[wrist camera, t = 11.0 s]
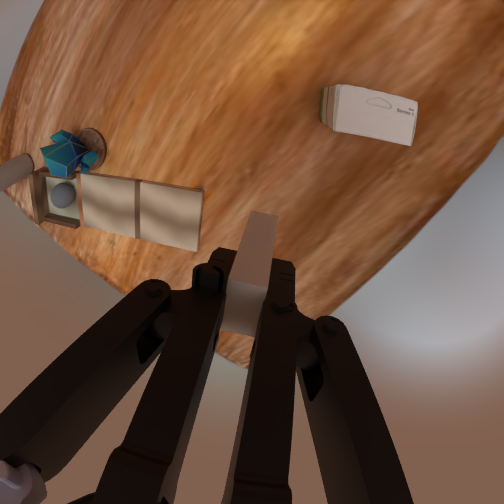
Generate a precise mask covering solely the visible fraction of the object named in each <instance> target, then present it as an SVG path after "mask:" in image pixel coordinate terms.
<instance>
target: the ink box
mask: <svg viewBox="0 0 504 504" xmlns="http://www.w3.org/2000/svg"><path fill="white" fill-rule="evenodd" d="M417 109H418V103H417V102H416V101H413V100H411V99H407V98H403V97H400V96H396V95H392V94H388V93H385V92H381V91H375V90H370V89H367V88H363V87H358V86H352V85H348V84H336V85H333V86H329V87H325V88H323V89H322V95H321V107H320V121H321V122H322V123H324V124H325V125H327V126H328V127H330V128H331V129H332V130H334V131H337V132H343V133H349V134H355V135H360V136H365V137H370V138H375V139H380V140H385V141H389V142H394V143H398V144H403V145H408V146H411V145H412V142H413V137H414V132H415V127H416V118H417Z"/></svg>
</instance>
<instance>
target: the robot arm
mask: <svg viewBox="0 0 504 504" xmlns="http://www.w3.org/2000/svg"><path fill="white" fill-rule="evenodd" d="M277 219H278V216H274V215H269V214H265V213H260V212H255V211H251V214H250V216H249V219H248V222H247V225H246V228H245V231H244V234H243V237H242V240H241V242H240V245H239V248H238V251H235V250H230V249H225V248H221V247H219V248H218V249H216V250H215V251H213V252H212V254H211V256H210V259H209V261H208V263H202V264H199V265H197V266H195V267H194V269H193V275H192V287H191V288H190V289H186V290H171V288H170V286H169V285H168V284H167V283H166V282H164V281H162V280H158V279H150V280H146V281H144V282H142V283H141V284H139V285H138V286H137V287H136V288H135V289H133V290H132V291H131V292H130V293H129V294H128V295H126V296H125V297H124V298H123V299H122V300H121V301H120V302H118V303H117V304H116V305H115V306H114V307H113V308H111V309H110V310H109V311H108V312H107V313H106V314H105V315H104V316H102V317H101V318H100V319H99V320H98V321H97V322H96V323H95V324H93V325H92V326H91V327H90V328H89V329H88V330H87V331H86V332H85V333H83V334H82V335H81V336H80V337H79V338H78V339H77V340H76V341H75V342H74V343H72V344H71V345H70V346H69V347H68V348H67V349H66V350H65V351H64V352H63V353H62V354H61V355H60V356H58V357H57V358H56V359H55V360H54V361H53V362H52V363H51V364H50V365H49V366H48V367H47V368H46V369H45V370H44V371H43V372H42V373H41V374H40V375H39V376H38V377H36V378H35V380H33V381H32V382H31V383H30V384H29V385H28V386H27V387H26V388H25V389H24V390H23V391H22V392H21V394H19V395H18V396H17V397H16V398H15V399H14V400H13V401H12V402H11V403H10V405H8V406H7V408H6V409H5V410H4V411H3V412H2V413H1V414H0V504H40V503H41V502H42V501H43V500H44V499H45V498H46V497H47V491H46V486H45V482H47V481H48V480H50V479H51V478H53V477H54V476H55V475H57V474H58V473H59V472H60V471H61V470H62V469H63V468H64V467H65V466H66V465H67V464H68V462H69V461H70V460H71V459H72V458H73V457H74V455H75V454H76V453H77V452H78V450H79V449H80V448H81V447H82V446H83V445H84V443H85V442H86V441H87V440H88V439H89V437H90V436H91V435H92V434H93V433H94V431H95V430H96V429H97V428H98V426H99V425H100V424H101V423H102V422H103V421H104V419H105V418H106V417H107V416H108V414H109V413H110V412H111V411H112V410H113V409H114V407H115V406H116V405H117V404H118V403H119V401H120V400H121V399H122V398H123V397H124V395H125V394H126V393H127V392H128V391H129V390H130V388H131V387H132V386H133V385H134V384H135V382H136V381H137V380H138V379H139V377H140V376H141V375H142V374H143V373H144V372H145V370H146V369H147V368H148V367H149V366H150V364H151V363H152V362H153V361H154V360H155V359H156V357H157V356H158V355H159V354H160V353H161V354H160V356H159V358H158V360H157V363H156V365H155V367H154V369H153V372H152V374H151V377H150V379H149V381H148V383H147V385H146V388H145V390H144V392H143V395H142V397H141V400H140V402H139V404H138V407H137V409H136V411H135V414H134V416H133V419H132V421H131V423H130V426H129V428H128V431H127V433H126V436H125V438H124V440H123V442H122V444H121V445H120V446H119V447H117V448H115V449H114V450H113V452H112V453H111V455H110V457H109V459H108V461H107V464H106V466H105V469H104V471H103V474H102V477H101V479H100V482H99V484H98V487H97V490H96V492H94V493H91V494H88V495H86V496H83V497H81V498H79V499H77V500H75V501H72V502H70V503H68V504H173V502H174V498H175V494H176V489H177V482H178V478H179V475H180V471H181V467H182V464H183V460H184V457H185V453H186V450H187V446H188V443H189V439H190V436H191V432H192V429H193V425H194V421H195V418H196V414H197V411H198V408H199V404H200V400H201V397H202V394H203V390H204V387H205V383H206V380H207V376H208V373H209V369H210V366H211V362H212V359H213V355H214V352H215V349H216V345H217V342H218V338H219V331H220V328H221V330H225V331H230V332H234V333H239V334H243V335H248V336H253V337H255V339H254V343H253V346H252V350H251V354H250V357H251V358H250V363H249V368H248V375H247V379H246V385H245V390H244V395H243V400H242V406H241V411H240V416H239V422H238V426H237V432H236V437H235V442H234V447H233V452H232V457H231V462H230V467H229V472H228V477H227V481H226V486H225V491H224V495H223V499H222V502H221V504H292V492H291V489H290V487H289V485H288V474H289V464H290V452H291V440H292V426H293V411H294V394H295V375H296V372H297V376H298V380H299V384H300V388H301V392H302V396H303V400H304V405H305V409H306V412H307V417H308V421H309V425H310V429H311V433H312V437H313V442H314V446H315V450H316V455H317V459H318V463H319V467H320V472H321V476H322V480H323V485H324V489H325V493H326V497H327V502H328V504H414V503H413V500H412V497H411V494H410V490H409V488H408V484H407V482H406V478H405V475H404V472H403V470H402V467H401V464H400V461H399V458H398V455H397V452H396V449H395V447H394V444H393V441H392V438H391V436H390V433H389V430H388V428H387V425H386V422H385V420H384V417H383V414H382V412H381V409H380V407H379V404H378V402H377V399H376V397H375V394H374V392H373V389H372V387H371V384H370V382H369V379H368V377H367V375H366V372H365V370H364V368H363V365H362V363H361V360H360V358H359V356H358V353H357V351H356V348H355V346H354V344H353V342H352V340H351V337H350V335H349V332H348V330H347V328H346V326H345V325H344V323H343V322H341V321H340V320H339V319H337V318H335V317H332V316H320V317H319V318H317V319H316V321H315V320H313V319H311V318H308V317H307V316H305V315H303V314H302V313H301V312H299V310H298V308H297V305H296V303H295V267H294V266H293V264H292V262H289V261H285V260H280V259H275V258H272V256H273V249H274V241H275V234H276V226H277ZM161 351H162V352H161Z"/></svg>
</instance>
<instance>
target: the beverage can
mask: <svg viewBox="0 0 504 504" xmlns="http://www.w3.org/2000/svg"><path fill="white" fill-rule="evenodd" d="M32 171H33V161H32V159H31V157H30V156H29V155H27V154H22V155H20V156H18V157H15V158H13V159H11V160H9V161H6V162H4V163H2V164H0V192H1V191H3V190H4V189H6V188H8V187H10V186H11V185H13V184H15V183H17V182H19V181H21V180H23V179H25V178H26V177H28V176H29V174H30V173H32Z"/></svg>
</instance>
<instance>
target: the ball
mask: <svg viewBox="0 0 504 504" xmlns="http://www.w3.org/2000/svg"><path fill="white" fill-rule="evenodd" d="M73 199H74V191H73V189H72V187H71V186H70V185H69V184H67V183H59V184H57V185H56V186H55V187H54V188H53V189H52V191H51V201H52V203H53V205H54V206H55V207H57V208H60V209H63V208H66V207H68V206H69V205H70V204H71V203H72V201H73Z"/></svg>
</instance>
